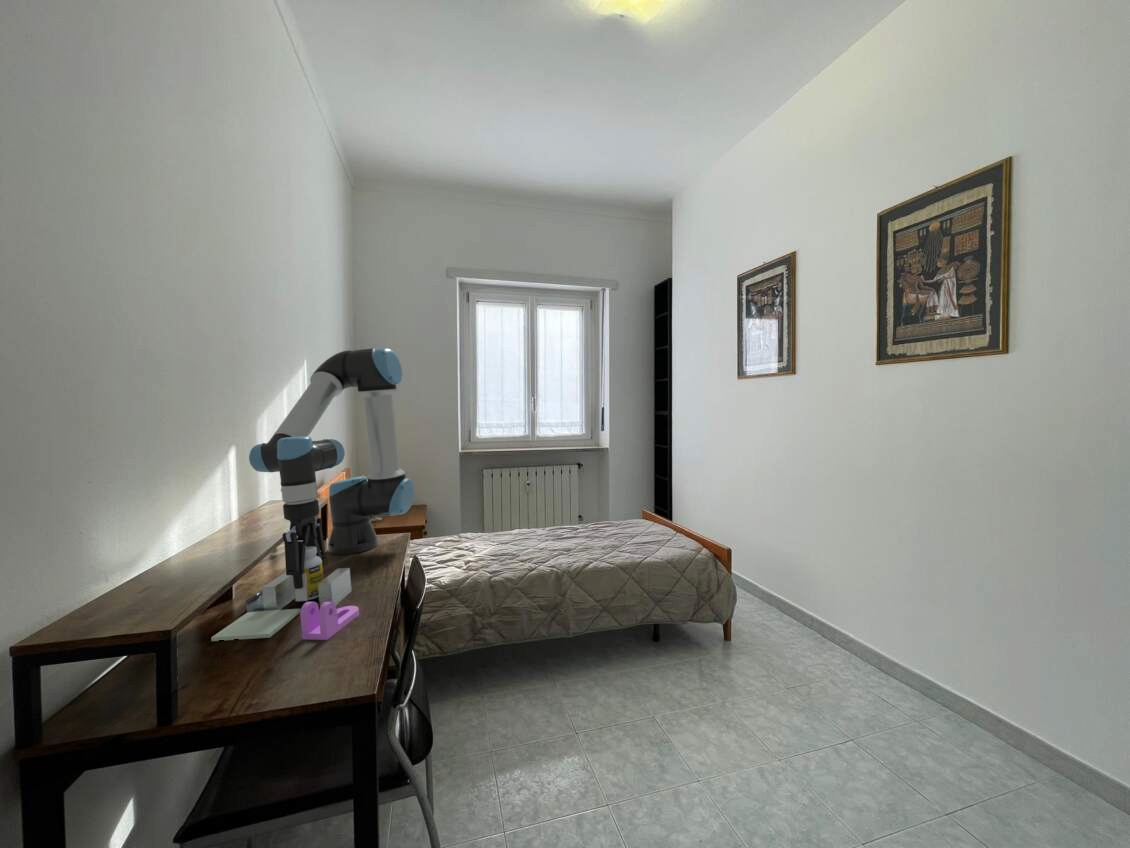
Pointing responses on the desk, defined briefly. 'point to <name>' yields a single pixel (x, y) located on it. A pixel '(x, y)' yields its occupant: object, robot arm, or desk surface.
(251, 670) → the desk surface
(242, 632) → the mat
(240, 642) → the desk surface
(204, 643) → the desk surface
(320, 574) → the pill bottle
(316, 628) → the bracket
